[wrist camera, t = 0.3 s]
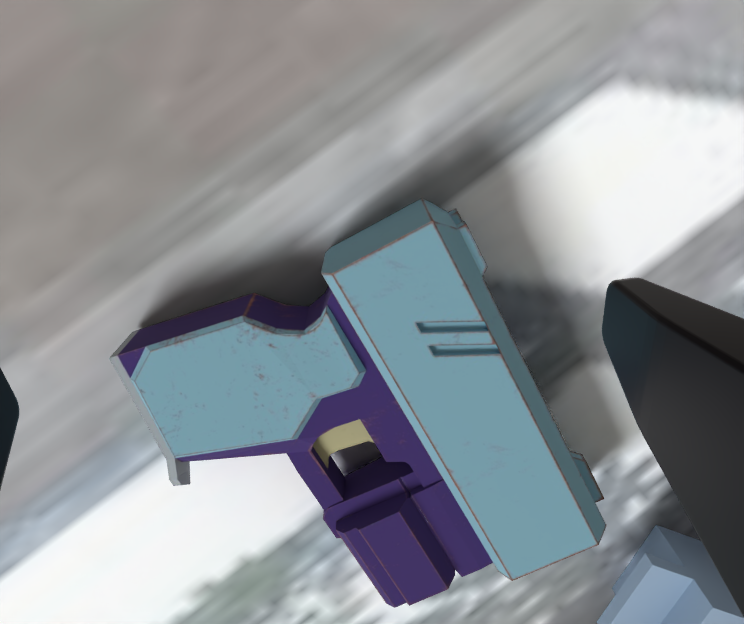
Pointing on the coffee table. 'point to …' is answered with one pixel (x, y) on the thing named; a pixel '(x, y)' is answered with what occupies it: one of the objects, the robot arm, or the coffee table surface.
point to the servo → (671, 585)
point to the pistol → (381, 408)
